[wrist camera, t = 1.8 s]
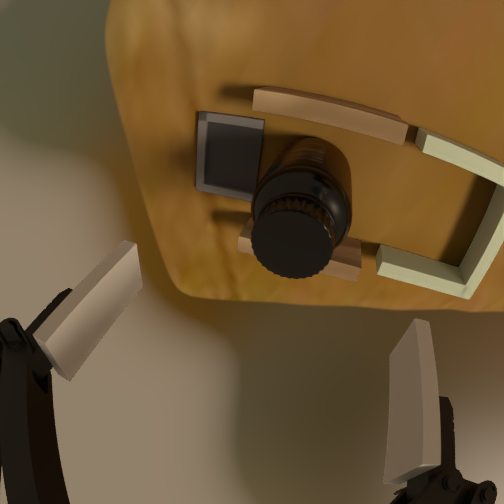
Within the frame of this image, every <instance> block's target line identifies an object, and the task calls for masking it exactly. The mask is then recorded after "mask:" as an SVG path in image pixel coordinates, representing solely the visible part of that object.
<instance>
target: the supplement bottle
mask: <svg viewBox="0 0 504 504" xmlns="http://www.w3.org/2000/svg"><path fill="white" fill-rule="evenodd" d="M251 217H252V221H253V224H254V225H253V229H252V231H251V239H250V241H251V243H252V245H251V247H252V249H253V251H254V255H255V256H256V257H257V260H258V261H259V262H261V264H262V266H264V267H266V268H267V270H269V271H272V272H273V273H274V274H278V275H280V276H281V277H287V278H294V279H299V278H306V277H312V276H313V275H314V274H318V273H319V272H320V271H322V270H324V268H325V266H327V265H328V264H329V261H330V260H331V259H332V255H333V252H334V249H336V248H337V247H338V246H339V245H340V244H341V243H342V242H343V241H344V239H345V238H346V236H347V234H348V232H349V230H350V227H351V222H352V184H351V171H350V166H349V164H348V161H347V159H346V157H345V156H344V154H343V153H342V152H341V151H340V150H339V149H338V148H337V147H336V146H335V145H333V144H332V143H330V142H328V141H326V140H323V139H319V138H303V139H299V140H296V141H294V142H292V143H290V144H289V145H288V146H286V147H285V148H284V149H283V150H282V151H281V153H280V154H279V155H278V157H277V158H276V159H275V161H274V162H273V164H272V165H271V167H270V168H269V170H268V171H267V172H266V174H265V175H264V177H263V178H262V180H261V181H260V183H259V184H258V186H257V188H256V190H255V192H254V194H253V197H252V201H251Z"/></svg>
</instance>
